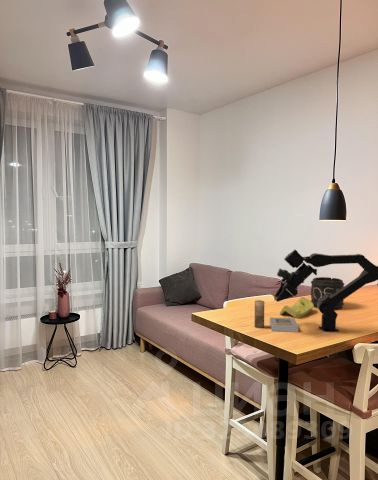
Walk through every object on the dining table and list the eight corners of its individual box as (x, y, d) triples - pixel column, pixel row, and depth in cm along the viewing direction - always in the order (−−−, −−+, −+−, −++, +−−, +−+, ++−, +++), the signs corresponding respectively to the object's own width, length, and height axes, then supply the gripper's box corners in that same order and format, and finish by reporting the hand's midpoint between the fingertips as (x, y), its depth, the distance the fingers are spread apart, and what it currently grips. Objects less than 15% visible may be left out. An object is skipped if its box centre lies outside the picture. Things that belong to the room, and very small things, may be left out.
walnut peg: (265, 327, 168) (265, 302, 167) (256, 328, 167) (257, 302, 166) (261, 325, 172) (262, 300, 171) (253, 325, 171) (253, 300, 170)
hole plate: (294, 324, 173) (294, 317, 173) (298, 332, 162) (298, 324, 161) (269, 323, 175) (269, 317, 174) (271, 330, 163) (271, 323, 163)
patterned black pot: (323, 311, 196) (324, 283, 195) (304, 304, 213) (304, 277, 213) (351, 309, 201) (352, 281, 200) (330, 302, 218) (331, 276, 217)
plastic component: (300, 315, 182) (283, 303, 187) (294, 326, 185) (278, 315, 190) (316, 305, 196) (300, 294, 202) (311, 315, 199) (295, 305, 205)
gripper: (285, 260, 176) (262, 282, 178) (289, 265, 157) (264, 290, 160) (302, 276, 175) (279, 299, 177) (308, 283, 156) (282, 308, 159)
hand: (276, 298), depth 168 cm, fingers open, 9 cm apart
